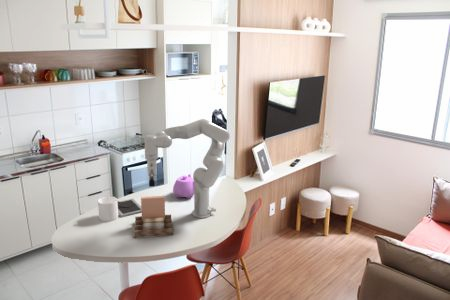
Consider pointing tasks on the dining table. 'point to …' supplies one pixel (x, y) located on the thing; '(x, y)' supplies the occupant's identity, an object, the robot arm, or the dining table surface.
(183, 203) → the dining table surface
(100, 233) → the dining table surface
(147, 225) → the grey offcut
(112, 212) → the cup
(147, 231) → the offcut rack
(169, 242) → the dining table surface
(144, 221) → the birch offcut
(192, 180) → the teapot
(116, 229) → the dining table surface
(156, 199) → the plywood sheet
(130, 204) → the picture frame
